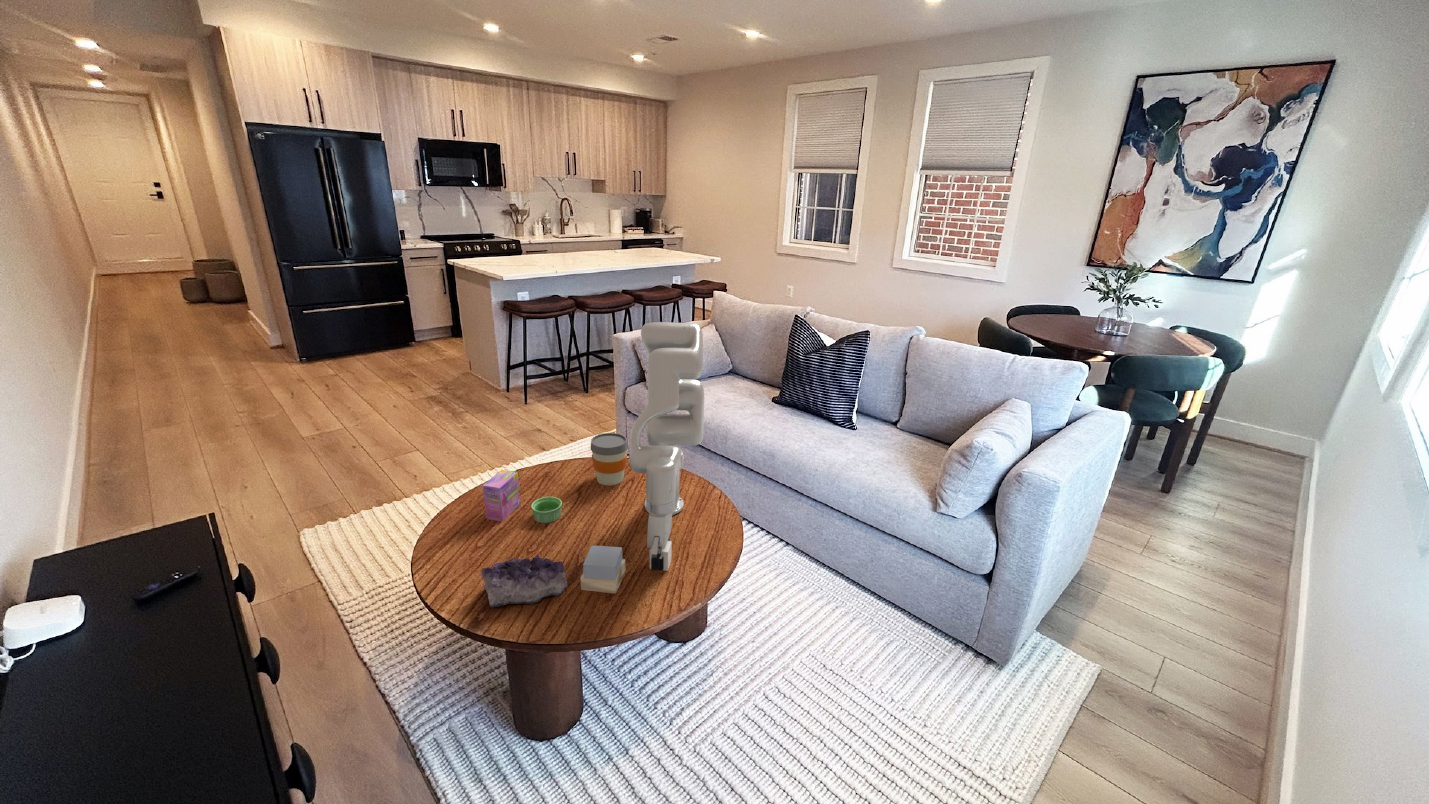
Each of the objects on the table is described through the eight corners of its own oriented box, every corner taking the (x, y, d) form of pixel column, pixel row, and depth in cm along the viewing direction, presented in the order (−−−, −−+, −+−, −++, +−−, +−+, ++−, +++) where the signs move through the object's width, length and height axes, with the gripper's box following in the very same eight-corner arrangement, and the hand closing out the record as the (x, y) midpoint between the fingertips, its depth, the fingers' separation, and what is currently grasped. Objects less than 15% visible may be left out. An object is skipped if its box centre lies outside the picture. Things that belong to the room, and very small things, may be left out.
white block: (653, 557, 153) (653, 539, 150) (671, 559, 152) (671, 541, 150) (649, 568, 148) (649, 550, 146) (667, 570, 147) (668, 552, 145)
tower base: (592, 568, 148) (592, 555, 146) (625, 571, 147) (625, 559, 145) (581, 590, 139) (580, 577, 138) (615, 594, 139) (615, 581, 137)
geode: (566, 570, 146) (566, 541, 142) (568, 604, 137) (567, 575, 132) (484, 579, 141) (481, 549, 136) (479, 615, 131) (475, 584, 126)
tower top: (592, 558, 145) (591, 545, 144) (622, 560, 145) (622, 547, 144) (583, 577, 138) (583, 564, 137) (615, 580, 138) (615, 566, 136)
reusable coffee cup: (586, 485, 188) (584, 445, 182) (599, 468, 199) (598, 430, 194) (621, 490, 186) (620, 449, 181) (633, 472, 198) (632, 434, 192)
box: (503, 522, 166) (499, 487, 162) (486, 519, 167) (481, 485, 163) (521, 504, 175) (518, 471, 171) (504, 502, 176) (501, 469, 172)
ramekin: (561, 506, 175) (560, 494, 173) (563, 522, 167) (562, 509, 165) (531, 510, 172) (530, 498, 171) (532, 526, 164) (531, 513, 163)
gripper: (654, 485, 152) (654, 539, 158) (638, 520, 136) (639, 579, 142) (680, 488, 151) (680, 542, 157) (668, 523, 135) (668, 582, 141)
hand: (660, 559), depth 150 cm, fingers open, 7 cm apart
